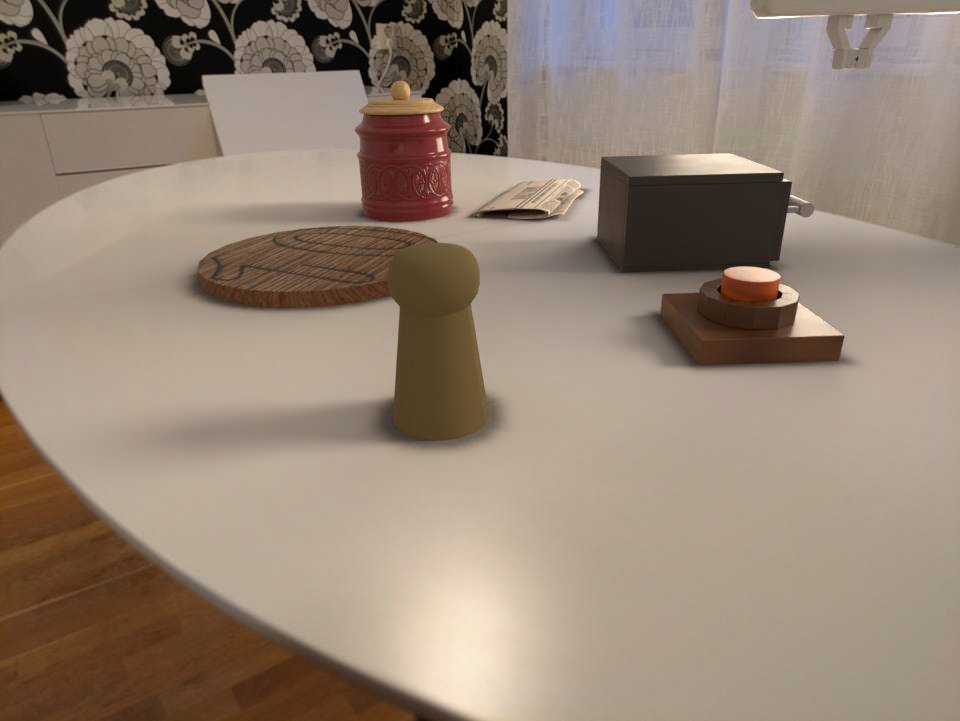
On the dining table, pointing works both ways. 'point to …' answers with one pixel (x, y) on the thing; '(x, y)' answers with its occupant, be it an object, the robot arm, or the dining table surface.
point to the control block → (748, 328)
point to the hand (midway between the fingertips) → (850, 69)
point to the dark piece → (786, 206)
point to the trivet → (306, 266)
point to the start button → (750, 284)
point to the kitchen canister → (404, 158)
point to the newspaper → (536, 199)
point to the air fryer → (687, 212)
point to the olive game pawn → (437, 343)
